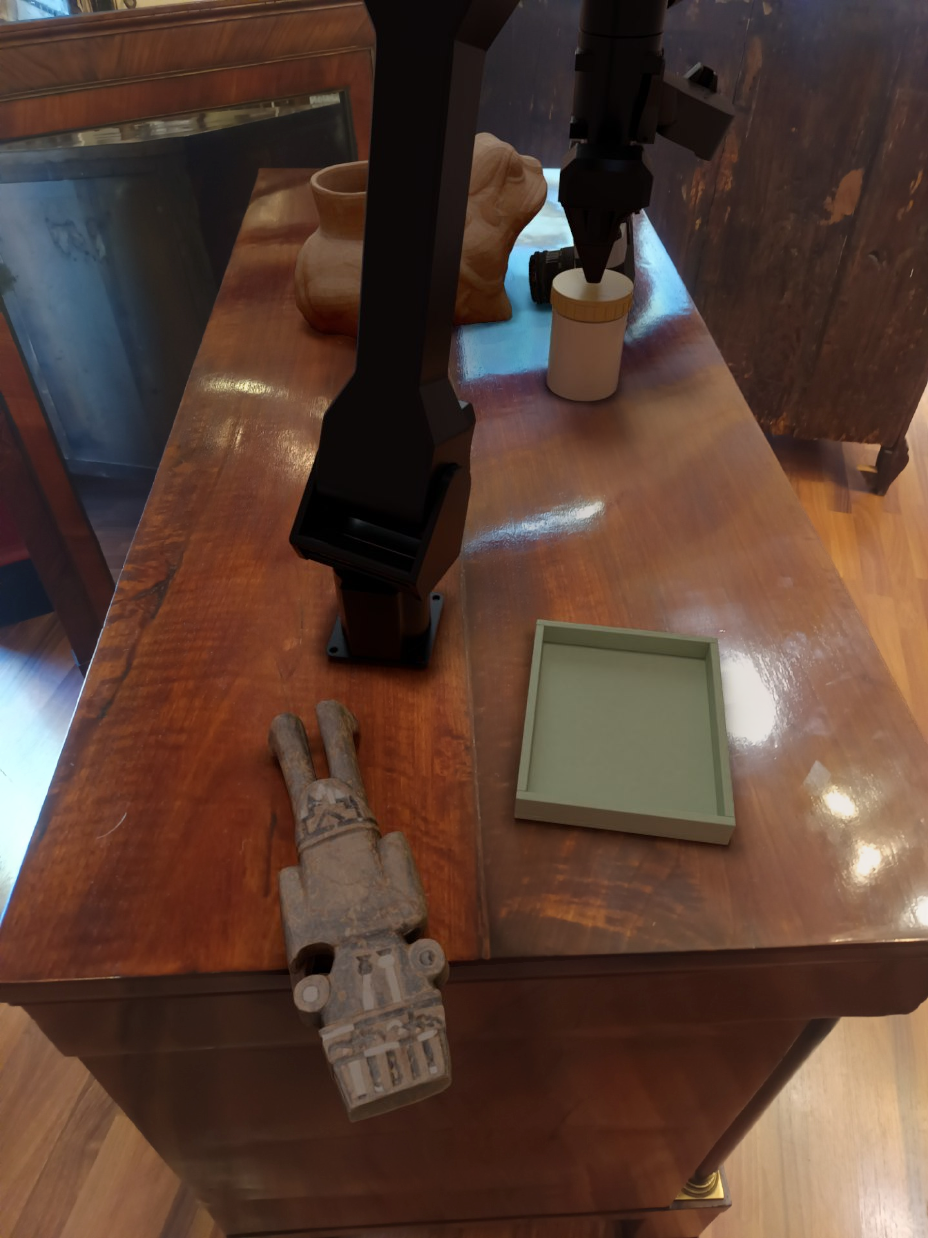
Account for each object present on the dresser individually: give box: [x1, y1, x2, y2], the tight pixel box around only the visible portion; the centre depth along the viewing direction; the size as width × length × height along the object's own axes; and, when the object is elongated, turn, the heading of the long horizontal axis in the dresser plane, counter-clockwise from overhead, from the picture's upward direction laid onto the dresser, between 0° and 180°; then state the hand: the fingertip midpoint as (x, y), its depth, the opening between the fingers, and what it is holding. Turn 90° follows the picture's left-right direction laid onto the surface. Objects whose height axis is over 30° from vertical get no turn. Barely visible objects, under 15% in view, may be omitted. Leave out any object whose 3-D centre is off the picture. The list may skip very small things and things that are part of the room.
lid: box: [550, 268, 635, 322], centre depth 69 cm, size 7×7×2 cm
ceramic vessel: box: [293, 132, 549, 341], centre depth 80 cm, size 14×26×15 cm, turn 112°
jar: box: [546, 307, 628, 402], centre depth 72 cm, size 6×6×9 cm
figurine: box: [267, 699, 453, 1123], centre depth 39 cm, size 7×5×20 cm
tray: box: [513, 618, 737, 846], centre depth 46 cm, size 13×11×2 cm
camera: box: [528, 210, 641, 327], centre depth 83 cm, size 15×11×10 cm
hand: (595, 261), depth 67 cm, fingers open, 8 cm apart
